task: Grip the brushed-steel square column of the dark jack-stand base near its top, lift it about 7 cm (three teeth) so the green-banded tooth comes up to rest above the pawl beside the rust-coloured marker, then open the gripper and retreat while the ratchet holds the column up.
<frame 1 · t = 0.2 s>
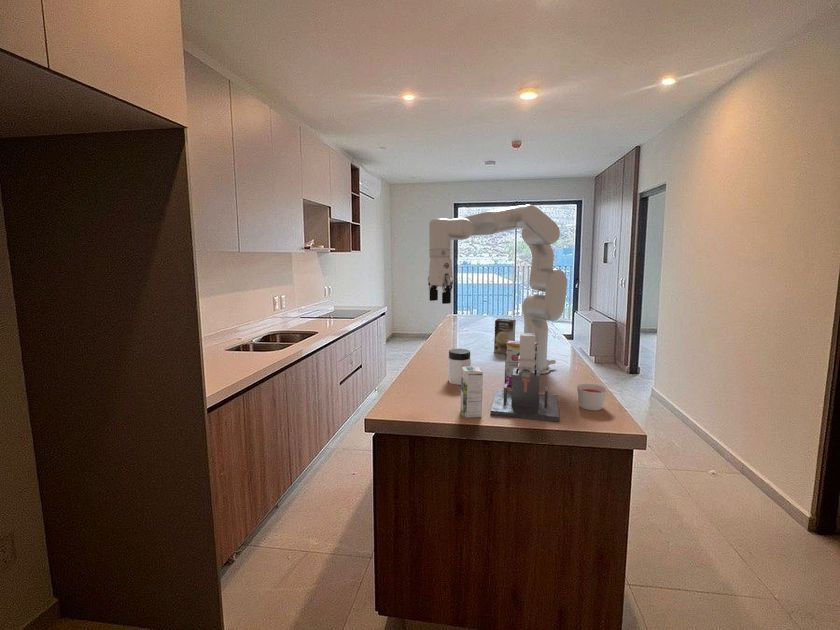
hand: (439, 301, 156), 31 cm above the table, tool pointing down, fingers open, 9 cm apart
stand base: (525, 406, 139), on the table
candle: (590, 407, 139), on the table
column: (526, 368, 137), point 13 cm above the table, slide at 0.0 cm
jar: (459, 382, 165), on the table
candy bar box: (520, 386, 160), on the table
coffee box: (504, 352, 211), on the table
syrup box: (471, 414, 133), on the table
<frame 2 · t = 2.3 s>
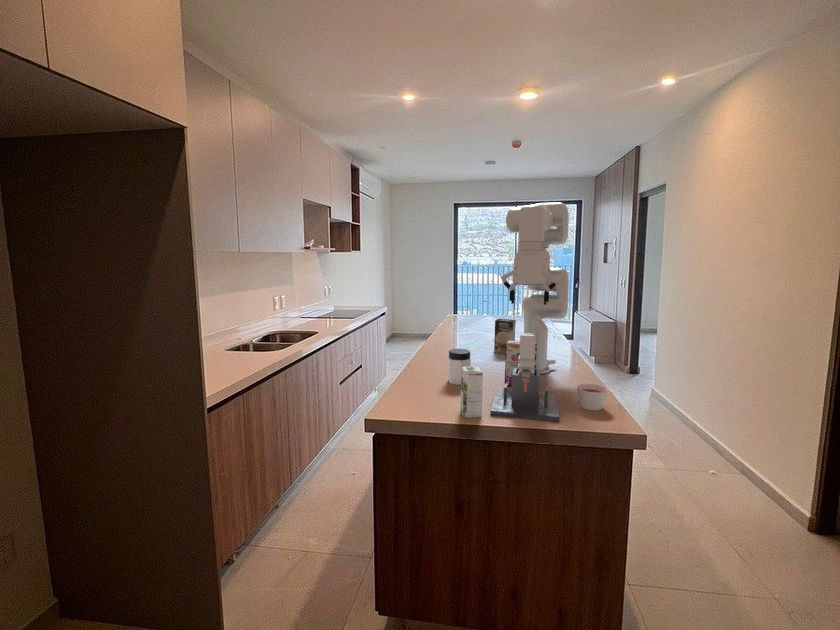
hand: (528, 303, 133), 33 cm above the table, tool pointing down, fingers open, 9 cm apart
nothing on the table moved.
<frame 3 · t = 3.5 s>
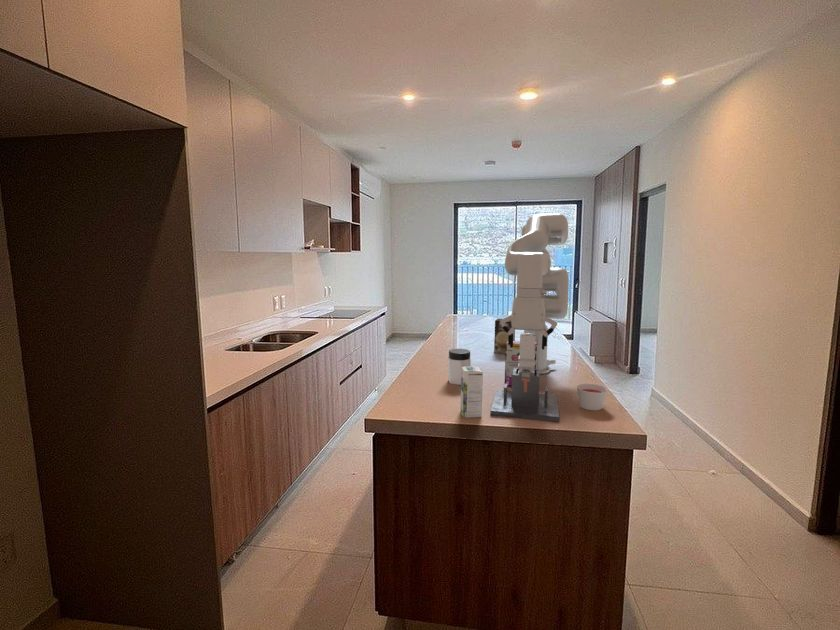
hand: (527, 347, 136), 19 cm above the table, tool pointing down, fingers open, 9 cm apart
nothing on the table moved.
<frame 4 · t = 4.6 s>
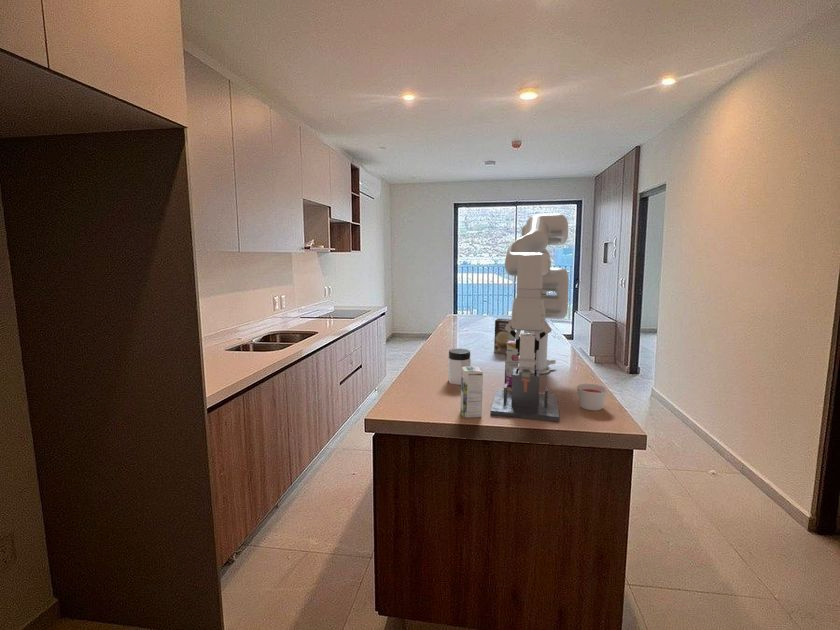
hand: (527, 351, 136), 18 cm above the table, tool pointing down, fingers closed on column, 4 cm apart
column: (526, 368, 137), point 13 cm above the table, slide at 0.0 cm, touching gripper
everything else where it was.
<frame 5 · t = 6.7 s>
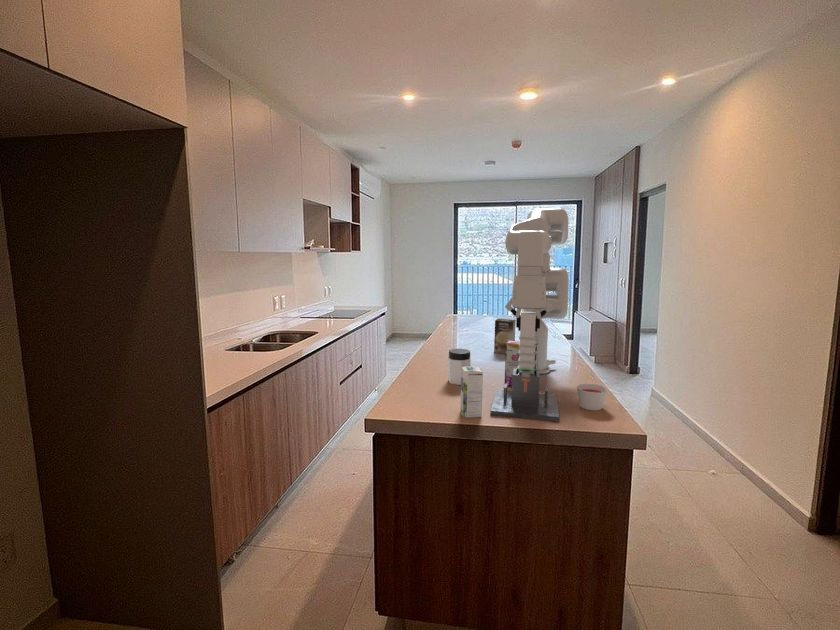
hand: (527, 329, 135), 25 cm above the table, tool pointing down, fingers closed on column, 4 cm apart
column: (527, 347, 136), point 20 cm above the table, slide at 6.8 cm, touching gripper
everything else where it was.
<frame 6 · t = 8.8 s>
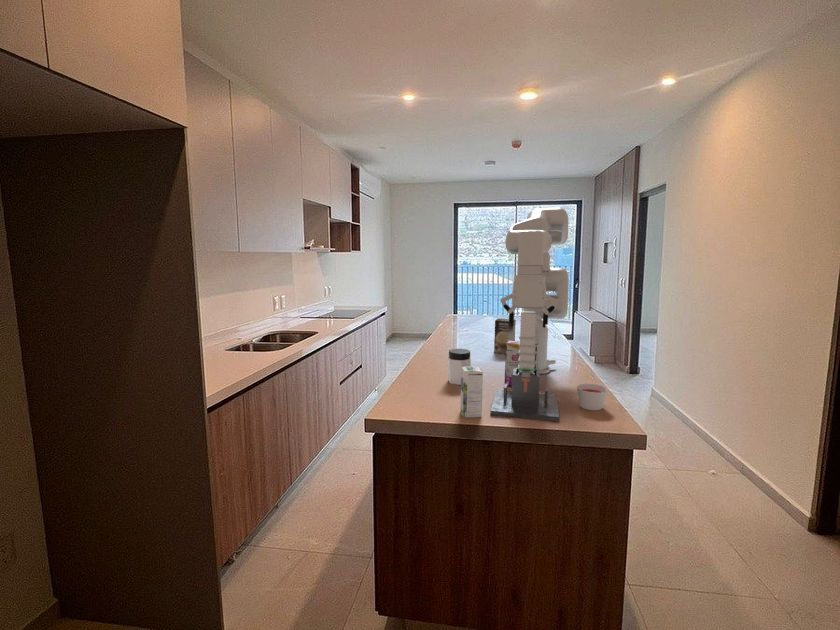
hand: (527, 326, 135), 26 cm above the table, tool pointing down, fingers open, 9 cm apart
column: (527, 347, 136), point 20 cm above the table, slide at 6.9 cm
everything else where it was.
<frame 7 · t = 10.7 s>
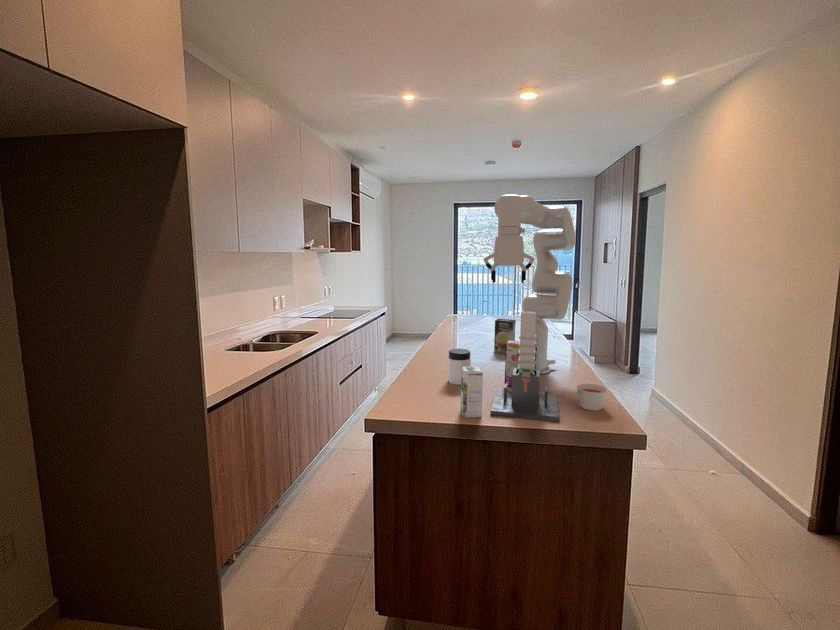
hand: (508, 282, 150), 39 cm above the table, tool pointing down, fingers open, 9 cm apart
nothing on the table moved.
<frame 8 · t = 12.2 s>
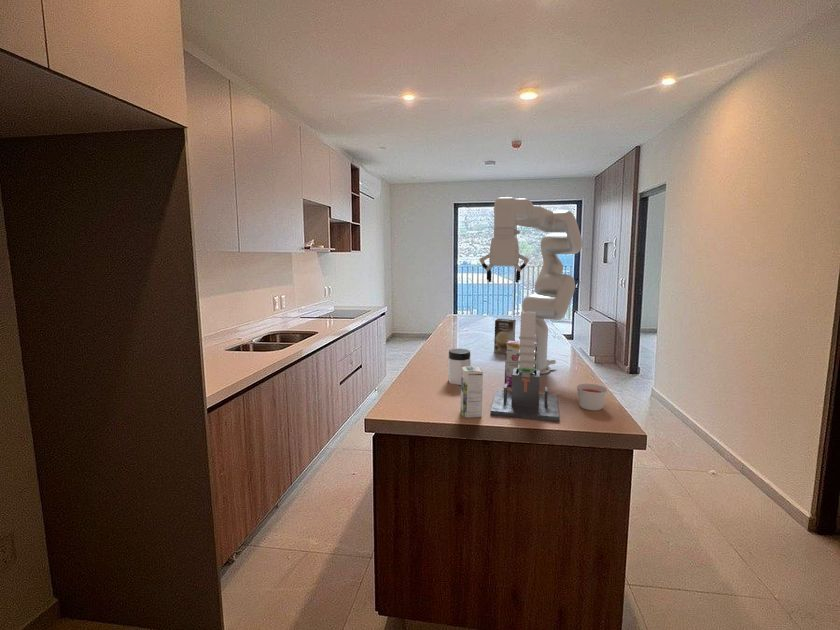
hand: (503, 282, 155), 38 cm above the table, tool pointing down, fingers open, 9 cm apart
nothing on the table moved.
at the end: column slide at 6.9 cm; the gripper is holding nothing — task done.
